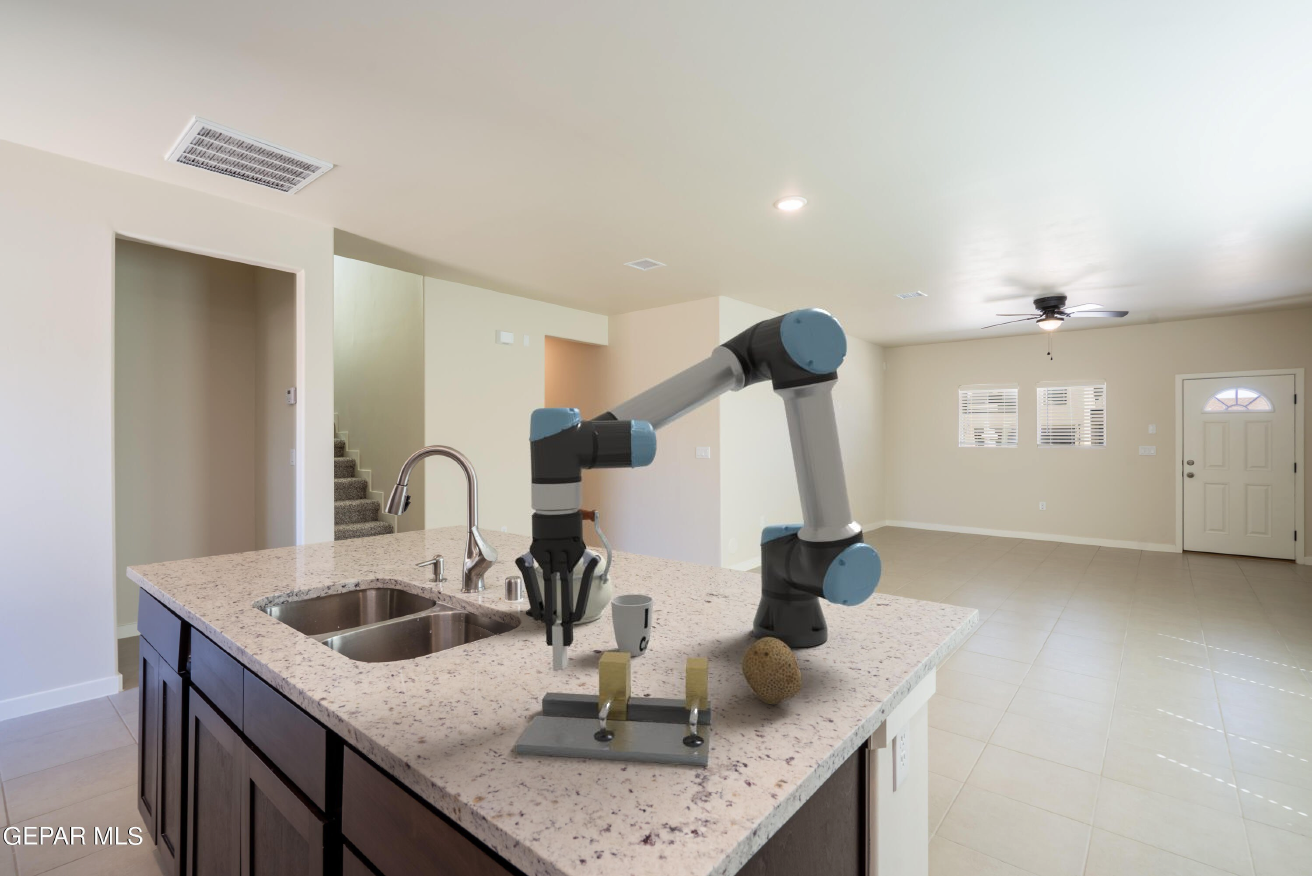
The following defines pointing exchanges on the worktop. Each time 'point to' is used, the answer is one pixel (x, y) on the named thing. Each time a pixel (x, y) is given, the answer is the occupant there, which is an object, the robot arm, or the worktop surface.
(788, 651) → the natural sponge
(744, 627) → the worktop surface
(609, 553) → the kettle
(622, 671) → the block
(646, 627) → the cup
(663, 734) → the bolt plate
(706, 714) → the rail
